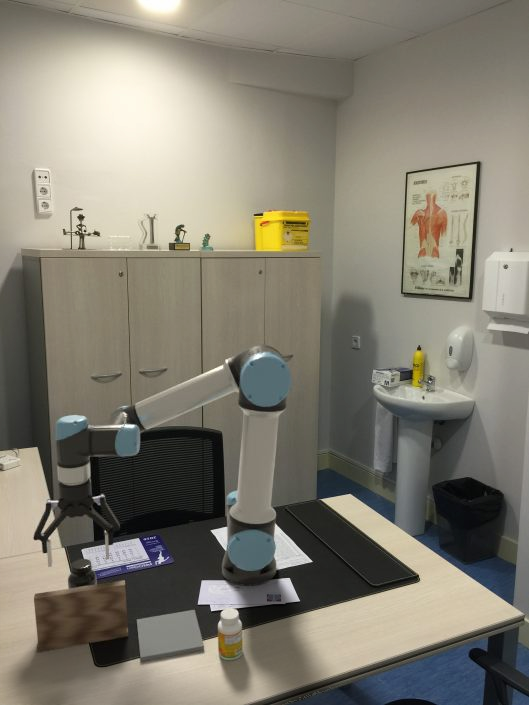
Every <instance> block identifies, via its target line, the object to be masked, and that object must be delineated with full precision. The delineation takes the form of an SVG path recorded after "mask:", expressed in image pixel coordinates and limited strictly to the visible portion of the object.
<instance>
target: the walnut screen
mask: <svg viewBox="0 0 529 705" xmlns="http://www.w3.org/2000/svg"><path fill="white" fill-rule="evenodd" d="M126 592H127V591H126V581H125V579H123V580H117V581H111V582H105V583H99V584H98V583H97V584H96V585H90V586H83V587H76V588H70V589H68V588H64V589H59V590H58V589H57V590H52V591H45V592H38V593H34V595H33V603H34V615H35V625H36V626H35V628H36V634H37V646H36V651H37V653H42V652H45V651H51V650H52V651H53V650H57V649H63V648H69V647H76V646H81V645H86V644H91V643H98V642H104V641H110V640H115V639H119V638H120V639H121V638H126V637H129V629H128V627H129V626H128V625H129V624H128V609H127V595H126Z"/></svg>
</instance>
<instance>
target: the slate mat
mask: <svg viewBox="0 0 529 705" xmlns="http://www.w3.org/2000/svg"><path fill="white" fill-rule="evenodd" d="M136 625H137V626H136V627H137V635H138V636H137V638H138V647H139V648H138V650H139V656H140V657H139V658H140V662H145V661H151V660H157V659H161V658H168V657H173V656H177V655H184V654H188V653H193V652H194V653H195V652H200V651H204V650H205V645H204V642H203V638H202V637H203V636H202V633H201V629H200V625H199V622H198V618H197V614H196V610H195V609H191V610H185V611H178V612H173V613H166V614H161V615H155V616H149V617H143V618H139V619H136Z"/></svg>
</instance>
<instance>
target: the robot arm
mask: <svg viewBox="0 0 529 705" xmlns="http://www.w3.org/2000/svg"><path fill="white" fill-rule="evenodd" d="M291 386H292V374H291V370H290V367H289V365H288V364H287V362H286V361H285V358H284V357H283V355H282V353H281V352H280V351H279V350H278V349H276V348H275V347H273V346H271V345H267V344H258V345H257V344H256V345H254V346H252V347H249V348H246V349H245V350H243V351H241V352H238V353H237V354H234V355H233V356H230V357H228V358H226V359H225V360H224V363H223V364H222V365H219V366H217V367H216V368H213V369H211V370H208V371H206V372H204V373H202V374H200V375H198V376H195V377H192V378H191V379H188V380H186V381H184V382H181V383H179V384H176V385H174V386H172V387H169V388H167V389H165V390H163V391H161V392H158V393H156V394H154V395H151V396H149V397H147V398H144V399H143V400H140V401H139V402H136V403H134V404H131V405H123V406H120V407H118V408H117V409H116V410H115V409H114V411H113V413H112V414H111V415H110V417H109V420H108V421H107V423H106V424H90V423H89V422H88V417H86V416H84V415H79V414H72V415H71V414H70V415H66V416H65V415H64V416H62V417H60V418H59V419H57V421H55V430H54V431H55V437H54V441H55V450H56V451H55V452H56V460H57V461H56V465H57V466H56V468H57V479H58V480H57V481H59V482H58V485H57V486H58V500H52V499H51V498H48V499H47V500H46V501H45V510H44V512H43V513H42V516H41V518H40V519H39V523H38V524H37V527H36V529H35V530H34V534H33V537H32V538H33V540H34V541H40V542H41V548H42V549H41V551H42V553H43V554H46V555H47V567H48V568H52V566H53V551H52V550H53V549H52V534H53V533H54V532H55V531H56V530H57V528H58V527H59V525H61V523H62V522H63V521H64V520H65V519H66V518H67V517H68V518H70V519H71V518H76V517H79V518H80V517H84V516H87V517H88V518H90V519H91V520H93V521H94V523H96V524H97V525H98V526H99V527H101V529H103V530H104V541H105V542H104V543H105V544H104V546H105V560H110V546H113V545H114V533H115V532H116V531H117V532H118V531H120V529H121V522H120V521H119V520H118V518H117V516H116V515H115V514H114V512H113V510H112V509H111V507H110V506H109V504H108V503H107V501H106V494H105V493H100V494H99V495H98V496H93V493H92V480H91V475H92V474H91V459H90V457H94V458H95V457H121V458H122V457H124V458H125V457H130V456H131V457H132V456H136V455H137V454H138V453H139V452H140V447H141V434H142V433H143V432H145V431H148V430H149V429H151V428H155V427H157V426H159V425H161V424H163V423H166V422H168V421H170V420H173V419H175V418H177V417H179V416H182V415H184V414H186V413H189V412H191V411H193V410H196V409H197V408H200V407H203V406H204V405H205V406H206V405H207V404H210V403H211V402H214V401H216V400H219V399H221V398H223V397H225V396H228V395H229V394H232V393H235V392H236V393H238V400H237V407H239V408H240V409H241V411H242V413H243V416H242V418H243V419H242V426H241V428H242V429H241V440H240V441H241V443H240V455H239V468H238V479H237V481H238V482H237V489H236V490H234V491H233V490H232V491H231V492H229V493H228V494H227V496H226V503H225V505H226V527H227V528H226V533H227V535H226V536H227V538H226V539H227V540H226V542H227V543H226V549H225V552H224V556H223V559H222V562H221V574H222V576H223V578H225V579H226V581H228V582H230V583H232V584H236V585H240V586H256V585H261V584H265V583H267V582H269V581H270V580H272V579H273V577H275V575H276V574H277V561H276V558H275V554H276V549H277V545H276V541H275V530H276V519H277V512H276V510H275V509H274V508H273V507H272V497H273V496H272V495H273V485H274V476H275V475H274V472H275V463H276V452H277V442H278V441H277V440H278V430H279V429H278V428H279V420H280V419H279V418H280V415H281V414H283V413H284V412H285V411H286V410H287V401H288V394H289V391H290V389H291ZM94 503H96V504H97V506H100V508H101V510H102V511H103V513H104V515H105V516H106V517H107V519H108V521H109V522H108V521H107V520H106V519H105V518H104V517H103V516H102V515H101V514H100V513H98V512H97V511H96V510H95V508H94V507H93V504H94ZM56 507H58V509H60V511H59V513H58V514H57V515H56V517H55V518H54V519H53V520H52V522H51V523H50V524H49V525H48V527H47V528H46V529H45V530H44V528H45V526H46V524H47V521H48V519H49V517H50V516H51V512H52V511H54V510H55V508H56ZM43 530H44V531H43Z"/></svg>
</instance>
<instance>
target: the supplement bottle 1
mask: <svg viewBox="0 0 529 705" xmlns="http://www.w3.org/2000/svg"><path fill="white" fill-rule="evenodd" d="M70 568H71V569H70V574H69V575H68V577H67V586H68V588H67V589H70V588H76V587H83V586H90V585H96V584H98V582H97V581H98V580H97V574H96V572H95V571H94V570H93V567H92V561H91V560H90V559H87V558H81V559H77V560H74V561H73V562H72V563H71V564H70Z"/></svg>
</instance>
